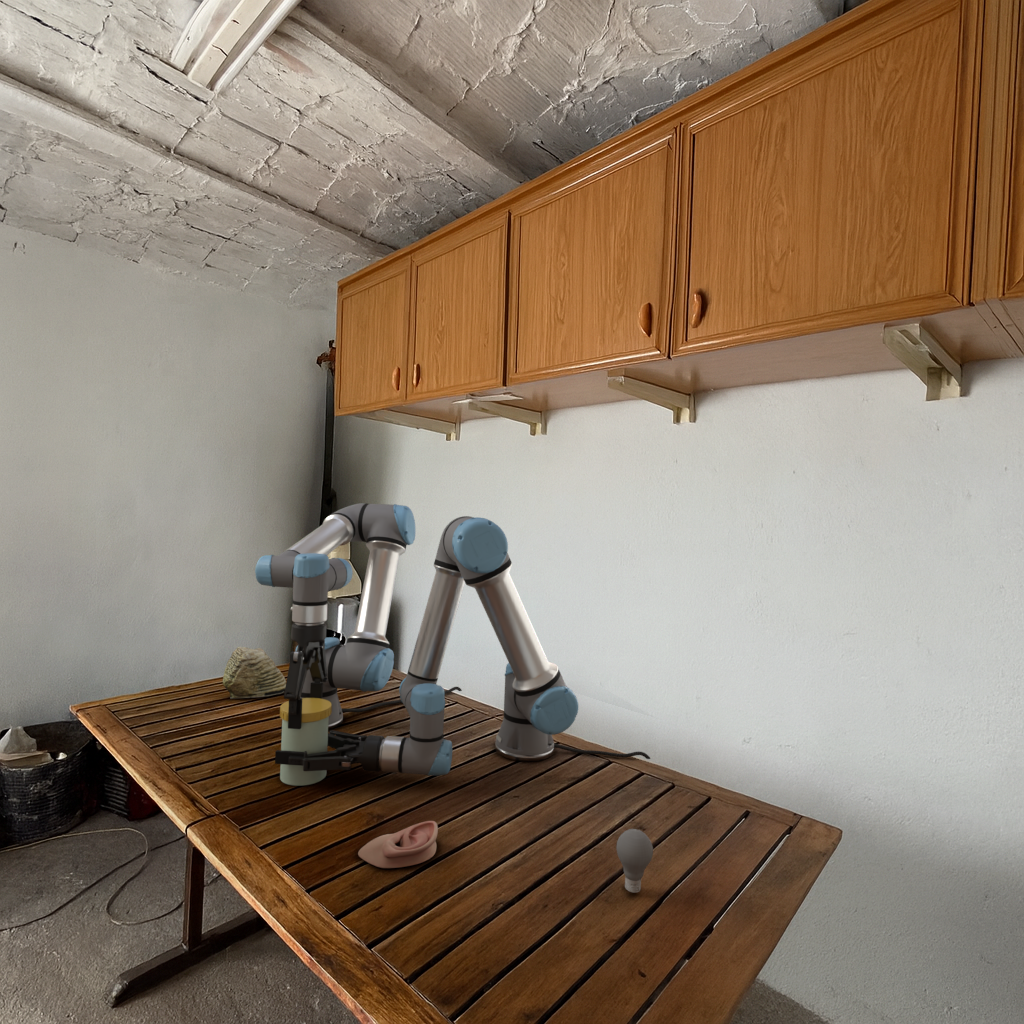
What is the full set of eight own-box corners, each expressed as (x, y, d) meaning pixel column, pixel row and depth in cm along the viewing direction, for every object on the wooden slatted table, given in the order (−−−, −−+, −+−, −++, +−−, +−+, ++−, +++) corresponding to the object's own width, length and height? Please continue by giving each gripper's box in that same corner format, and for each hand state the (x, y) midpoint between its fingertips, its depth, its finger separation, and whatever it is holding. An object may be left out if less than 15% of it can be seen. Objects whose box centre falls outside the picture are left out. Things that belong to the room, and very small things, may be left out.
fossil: (218, 695, 195) (220, 647, 195) (278, 685, 208) (279, 640, 207) (228, 703, 189) (230, 653, 188) (289, 692, 201) (290, 645, 201)
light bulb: (610, 879, 108) (613, 822, 108) (644, 879, 109) (647, 822, 109) (619, 902, 102) (622, 840, 102) (655, 901, 103) (658, 840, 103)
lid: (310, 702, 151) (310, 694, 151) (341, 713, 144) (342, 704, 144) (269, 714, 142) (269, 706, 142) (300, 726, 135) (301, 717, 135)
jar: (307, 762, 150) (310, 697, 150) (335, 774, 145) (338, 706, 144) (270, 776, 142) (273, 707, 142) (298, 790, 136) (301, 718, 136)
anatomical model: (350, 840, 110) (378, 809, 121) (349, 863, 110) (377, 829, 121) (423, 852, 107) (444, 819, 118) (422, 875, 107) (443, 840, 118)
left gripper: (313, 612, 155) (310, 701, 155) (269, 632, 131) (265, 736, 132) (343, 614, 154) (340, 703, 154) (304, 634, 131) (300, 739, 131)
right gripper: (368, 793, 131) (263, 786, 132) (394, 750, 154) (304, 744, 155) (369, 757, 131) (264, 750, 132) (395, 719, 153) (305, 714, 155)
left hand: (305, 719), depth 143 cm, fingers closed on lid, 11 cm apart
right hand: (286, 747), depth 143 cm, fingers closed on jar, 10 cm apart
